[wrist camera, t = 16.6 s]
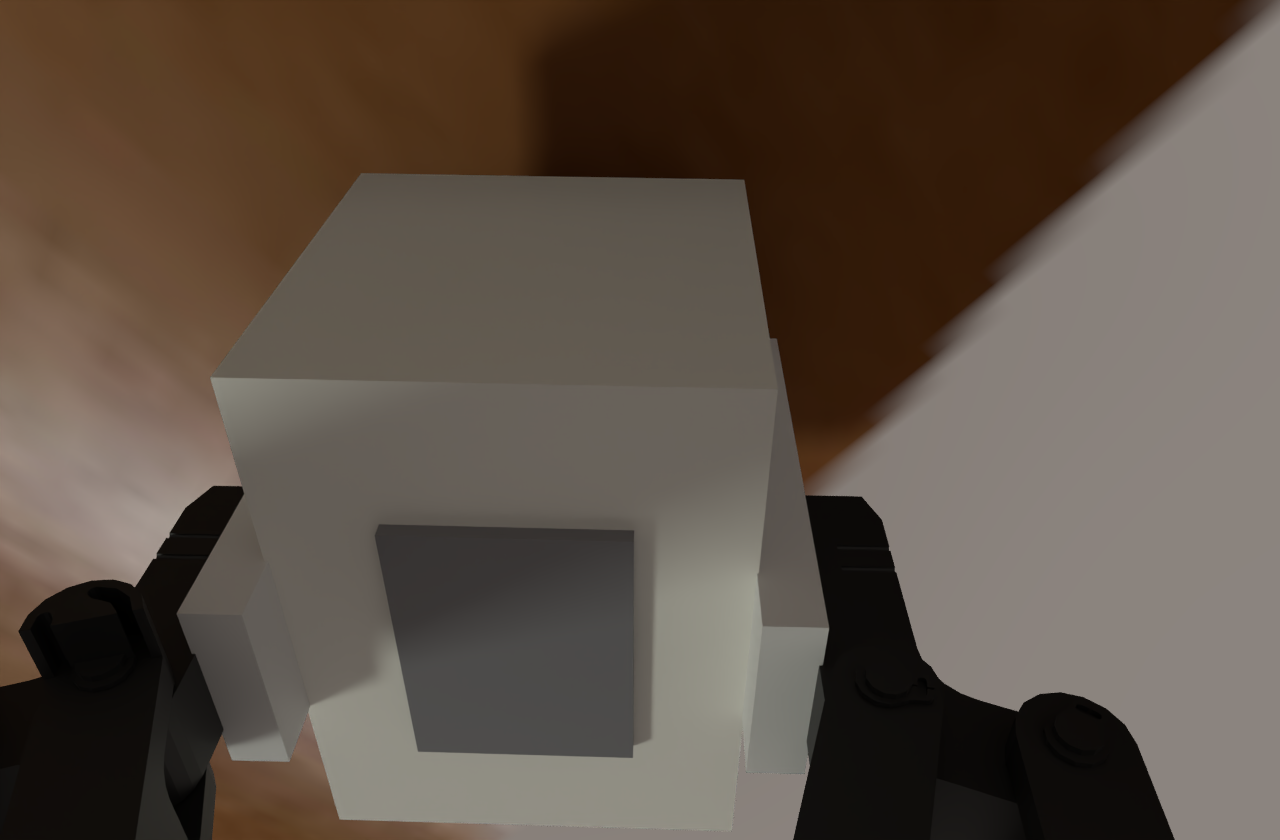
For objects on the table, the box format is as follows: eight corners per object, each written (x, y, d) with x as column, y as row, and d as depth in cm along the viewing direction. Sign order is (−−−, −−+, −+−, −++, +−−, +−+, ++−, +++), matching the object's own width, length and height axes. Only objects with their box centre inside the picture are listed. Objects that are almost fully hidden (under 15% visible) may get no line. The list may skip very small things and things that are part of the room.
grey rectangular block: (423, 551, 20) (336, 831, 15) (361, 172, 15) (202, 388, 10) (717, 559, 20) (732, 843, 15) (744, 179, 15) (778, 399, 10)
